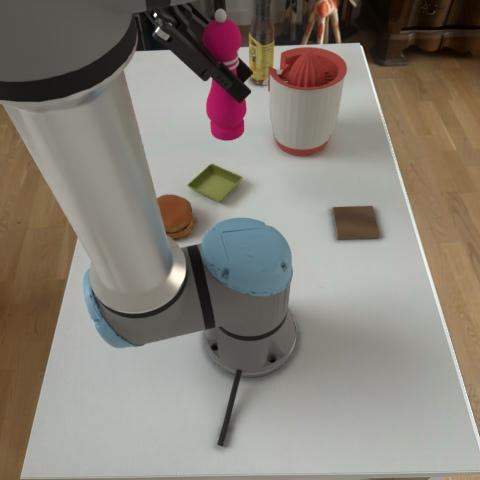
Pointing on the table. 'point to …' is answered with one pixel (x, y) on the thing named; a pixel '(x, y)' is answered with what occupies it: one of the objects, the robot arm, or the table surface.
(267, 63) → the sauce bottle
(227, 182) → the olive green square tray
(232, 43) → the pepper mill
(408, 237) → the table surface
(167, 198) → the burger
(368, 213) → the wooden coaster
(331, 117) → the citrus juicer
